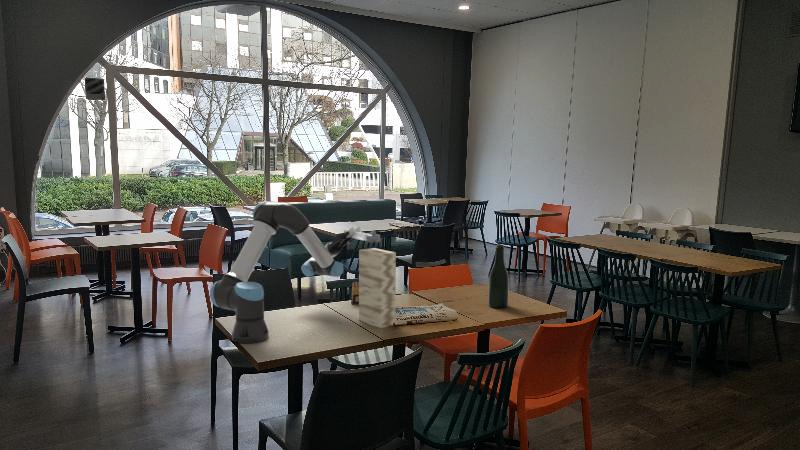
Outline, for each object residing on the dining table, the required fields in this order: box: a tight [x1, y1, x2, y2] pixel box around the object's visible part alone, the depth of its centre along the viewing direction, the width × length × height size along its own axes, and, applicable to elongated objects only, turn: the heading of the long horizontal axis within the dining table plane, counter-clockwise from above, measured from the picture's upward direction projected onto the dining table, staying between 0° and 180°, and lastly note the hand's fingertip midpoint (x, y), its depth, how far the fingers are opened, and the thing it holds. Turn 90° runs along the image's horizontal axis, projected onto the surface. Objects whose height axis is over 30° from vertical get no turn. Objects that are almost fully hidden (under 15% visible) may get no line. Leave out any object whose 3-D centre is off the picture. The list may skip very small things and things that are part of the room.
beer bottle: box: [487, 243, 510, 309], centre depth 290 cm, size 10×10×33 cm
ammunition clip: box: [350, 281, 359, 305], centre depth 296 cm, size 11×2×12 cm, turn 121°
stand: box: [358, 247, 397, 329], centre depth 259 cm, size 9×16×34 cm, turn 41°
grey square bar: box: [343, 229, 381, 244], centre depth 265 cm, size 6×25×5 cm, turn 40°
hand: (356, 229), depth 268 cm, fingers closed on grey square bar, 3 cm apart
